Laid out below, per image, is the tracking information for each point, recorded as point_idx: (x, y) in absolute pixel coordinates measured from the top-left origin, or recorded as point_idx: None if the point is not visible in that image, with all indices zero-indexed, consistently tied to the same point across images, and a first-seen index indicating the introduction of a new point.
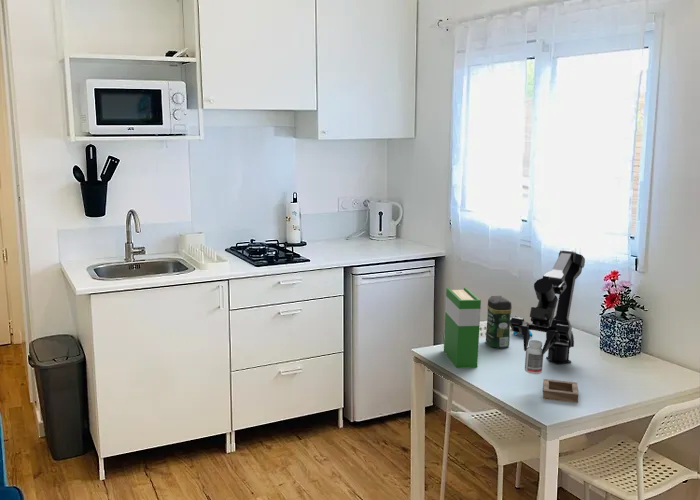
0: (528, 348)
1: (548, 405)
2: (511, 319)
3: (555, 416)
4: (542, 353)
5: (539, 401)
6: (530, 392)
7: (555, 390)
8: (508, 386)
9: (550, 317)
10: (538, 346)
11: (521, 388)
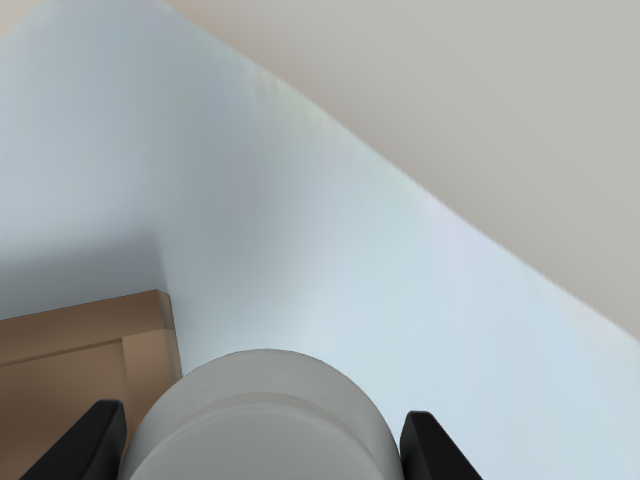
0: (367, 444)
1: (116, 203)
2: None
3: (53, 62)
4: (115, 404)
5: (181, 240)
6: None
7: (66, 339)
8: (430, 399)
9: None
10: (173, 431)
11: None
